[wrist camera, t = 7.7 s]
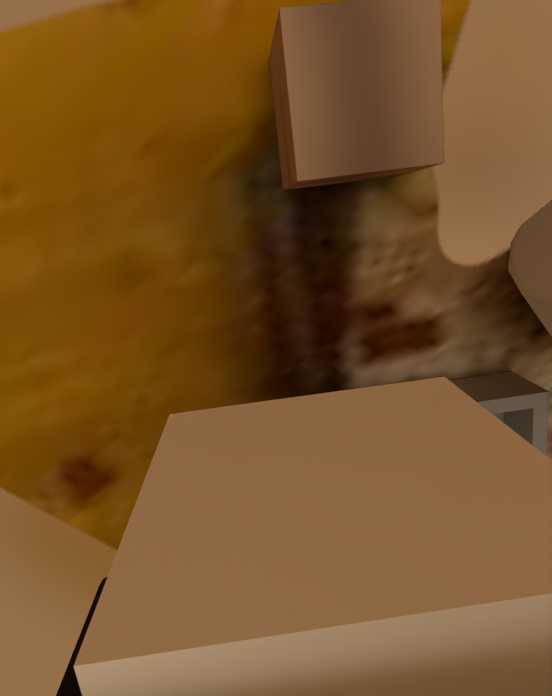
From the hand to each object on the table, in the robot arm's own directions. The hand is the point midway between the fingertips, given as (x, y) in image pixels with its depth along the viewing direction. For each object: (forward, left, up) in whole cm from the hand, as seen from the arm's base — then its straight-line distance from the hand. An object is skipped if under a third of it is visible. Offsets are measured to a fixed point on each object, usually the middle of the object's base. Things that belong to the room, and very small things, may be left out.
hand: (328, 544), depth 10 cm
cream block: (0, 0, -1) cm, 1 cm away
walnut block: (-5, -11, -17) cm, 21 cm away
